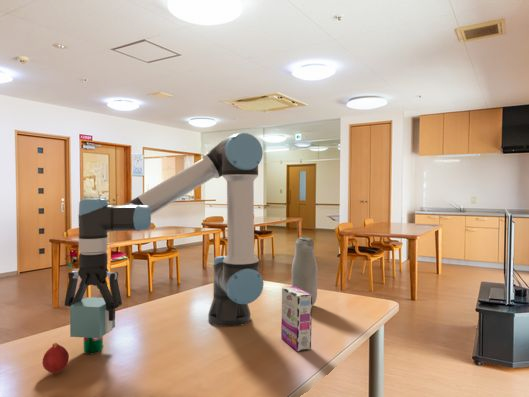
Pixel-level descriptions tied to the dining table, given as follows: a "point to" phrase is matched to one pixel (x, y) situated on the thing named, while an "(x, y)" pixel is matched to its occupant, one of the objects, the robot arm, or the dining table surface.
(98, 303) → the seafoam cube
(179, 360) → the dining table surface
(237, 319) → the robot arm
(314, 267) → the grey bottle
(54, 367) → the pomegranate
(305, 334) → the candy bar box
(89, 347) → the soda can
